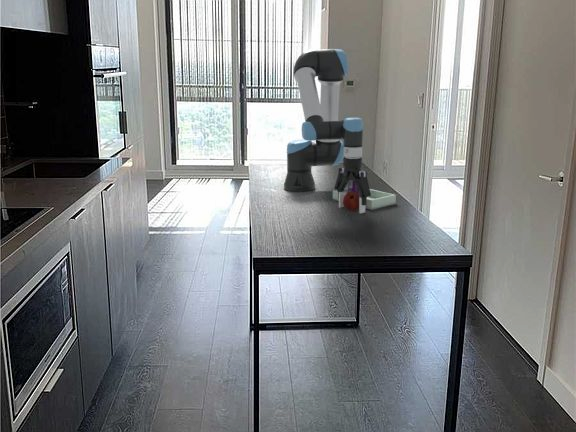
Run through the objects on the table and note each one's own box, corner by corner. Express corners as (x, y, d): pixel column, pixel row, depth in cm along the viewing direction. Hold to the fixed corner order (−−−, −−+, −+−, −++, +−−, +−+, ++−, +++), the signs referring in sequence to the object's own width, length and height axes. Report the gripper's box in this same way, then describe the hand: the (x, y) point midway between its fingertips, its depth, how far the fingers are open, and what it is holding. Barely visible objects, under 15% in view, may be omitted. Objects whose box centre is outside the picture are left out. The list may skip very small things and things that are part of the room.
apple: (340, 212, 229) (340, 192, 226) (345, 207, 235) (345, 188, 233) (358, 213, 226) (358, 194, 224) (362, 208, 233) (363, 190, 231)
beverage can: (364, 199, 245) (364, 172, 241) (347, 199, 245) (348, 172, 242) (363, 195, 251) (364, 169, 248) (347, 195, 252) (348, 169, 249)
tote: (332, 199, 249) (332, 190, 248) (356, 194, 258) (356, 185, 257) (371, 209, 231) (371, 200, 230) (395, 203, 240) (395, 194, 239)
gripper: (325, 154, 231) (325, 205, 237) (367, 161, 214) (366, 217, 219) (339, 152, 236) (338, 203, 242) (381, 159, 218) (379, 213, 224)
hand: (351, 209), depth 231 cm, fingers open, 11 cm apart
